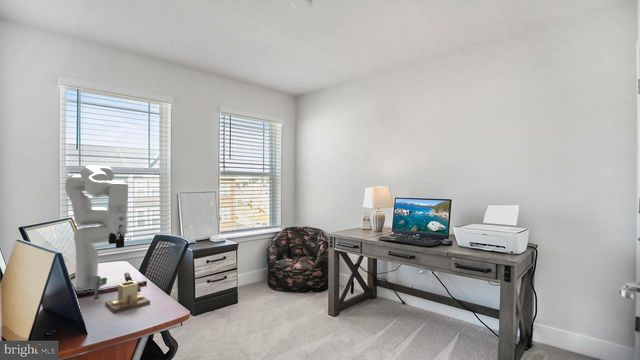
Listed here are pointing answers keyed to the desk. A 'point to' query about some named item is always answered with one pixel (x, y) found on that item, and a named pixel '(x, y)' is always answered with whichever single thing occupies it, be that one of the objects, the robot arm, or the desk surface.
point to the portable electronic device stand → (127, 278)
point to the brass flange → (127, 293)
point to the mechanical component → (96, 283)
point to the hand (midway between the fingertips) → (116, 245)
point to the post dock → (127, 306)
